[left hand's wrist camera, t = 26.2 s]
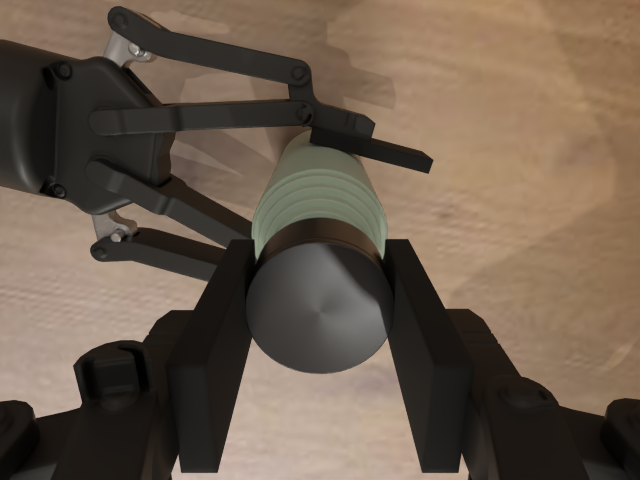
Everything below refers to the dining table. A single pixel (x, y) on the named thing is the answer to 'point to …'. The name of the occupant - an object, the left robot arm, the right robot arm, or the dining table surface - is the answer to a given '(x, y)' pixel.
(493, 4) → the dining table surface
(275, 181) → the bottle
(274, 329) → the cap
